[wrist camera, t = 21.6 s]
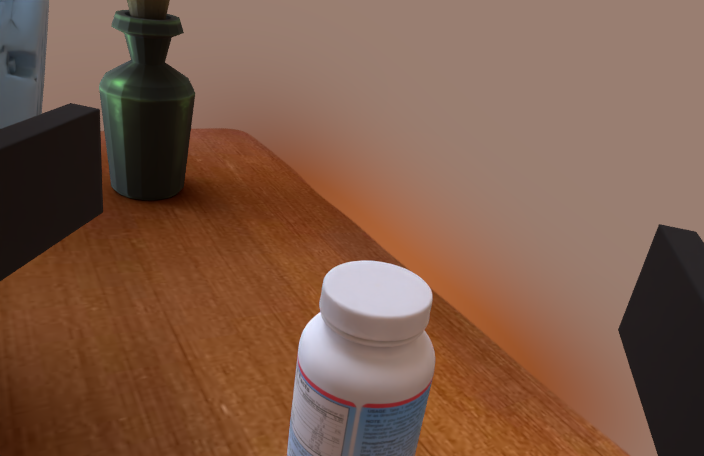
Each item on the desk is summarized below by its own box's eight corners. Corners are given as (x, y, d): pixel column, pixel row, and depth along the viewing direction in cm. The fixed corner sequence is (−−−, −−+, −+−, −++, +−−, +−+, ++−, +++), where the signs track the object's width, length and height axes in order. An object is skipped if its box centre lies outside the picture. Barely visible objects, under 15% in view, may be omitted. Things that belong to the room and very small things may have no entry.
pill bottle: (402, 444, 34) (443, 261, 29) (407, 543, 28) (460, 337, 24) (290, 430, 34) (313, 243, 29) (273, 527, 28) (299, 315, 24)
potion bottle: (179, 169, 65) (183, -16, 57) (203, 201, 59) (211, -3, 51) (94, 174, 61) (87, -25, 53) (111, 208, 55) (105, -11, 47)
